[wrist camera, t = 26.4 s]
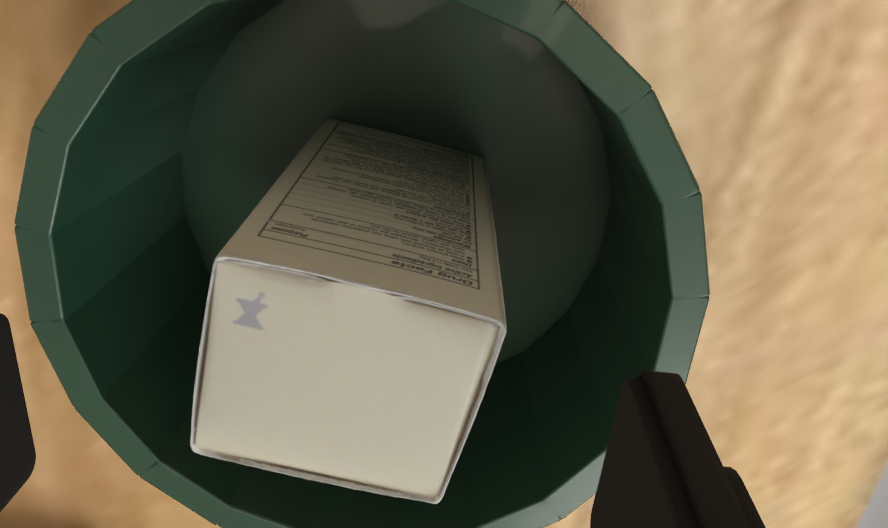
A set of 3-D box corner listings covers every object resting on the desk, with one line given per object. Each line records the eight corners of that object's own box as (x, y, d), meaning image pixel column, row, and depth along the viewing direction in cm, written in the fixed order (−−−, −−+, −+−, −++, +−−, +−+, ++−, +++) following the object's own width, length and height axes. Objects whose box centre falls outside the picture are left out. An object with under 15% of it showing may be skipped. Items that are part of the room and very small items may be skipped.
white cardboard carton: (298, 246, 22) (169, 452, 13) (325, 111, 20) (198, 238, 11) (456, 287, 22) (442, 517, 13) (496, 159, 21) (513, 322, 11)
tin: (145, -83, 19) (-45, -108, 12) (681, -29, 19) (799, -22, 12) (178, 373, 25) (64, 532, 18) (586, 414, 25) (629, 590, 18)
